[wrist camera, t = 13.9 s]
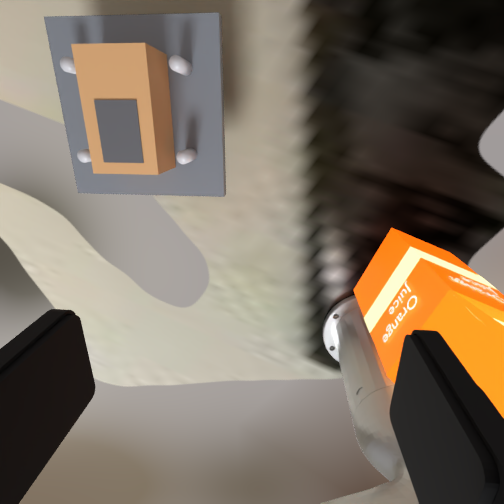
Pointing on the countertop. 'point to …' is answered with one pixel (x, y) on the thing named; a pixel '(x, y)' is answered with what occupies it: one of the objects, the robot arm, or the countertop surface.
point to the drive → (126, 107)
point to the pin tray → (181, 97)
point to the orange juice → (433, 308)
